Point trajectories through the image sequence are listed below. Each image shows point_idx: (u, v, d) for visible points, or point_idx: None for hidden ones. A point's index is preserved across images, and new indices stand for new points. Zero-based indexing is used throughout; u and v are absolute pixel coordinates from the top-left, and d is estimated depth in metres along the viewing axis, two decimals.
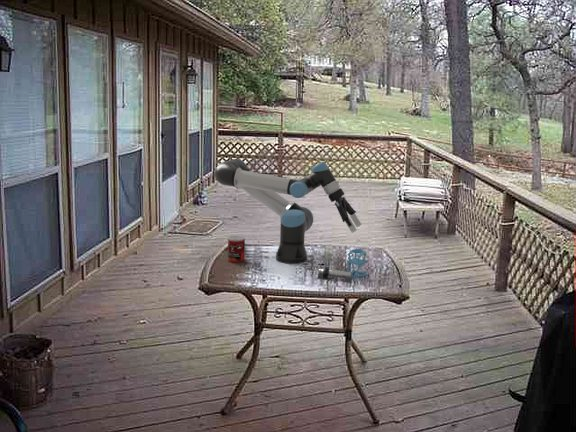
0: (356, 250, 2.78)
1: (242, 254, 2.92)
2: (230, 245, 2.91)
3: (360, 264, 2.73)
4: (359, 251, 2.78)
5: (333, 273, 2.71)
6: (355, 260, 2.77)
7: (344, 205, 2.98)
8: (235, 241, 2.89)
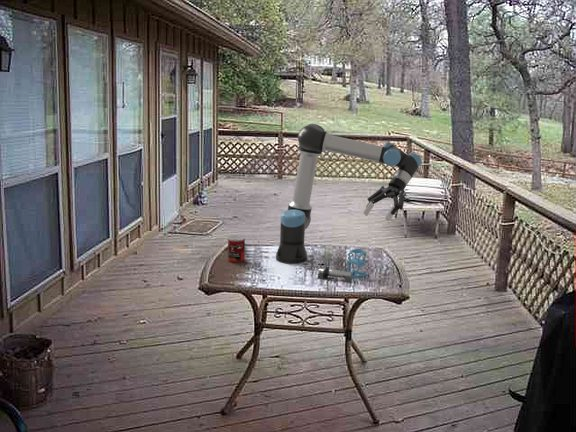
0: (356, 250, 2.78)
1: (242, 254, 2.92)
2: (230, 245, 2.91)
3: (360, 264, 2.73)
4: (359, 251, 2.78)
5: (333, 273, 2.71)
6: (355, 260, 2.77)
7: None
8: (235, 241, 2.89)
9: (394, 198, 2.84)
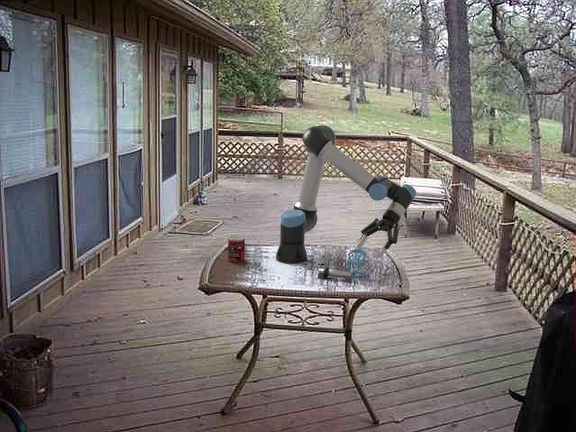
0: (356, 250, 2.78)
1: (242, 254, 2.92)
2: (230, 245, 2.91)
3: (360, 264, 2.73)
4: (359, 251, 2.78)
5: (333, 273, 2.71)
6: (355, 260, 2.77)
7: None
8: (235, 241, 2.89)
9: (388, 232, 2.78)
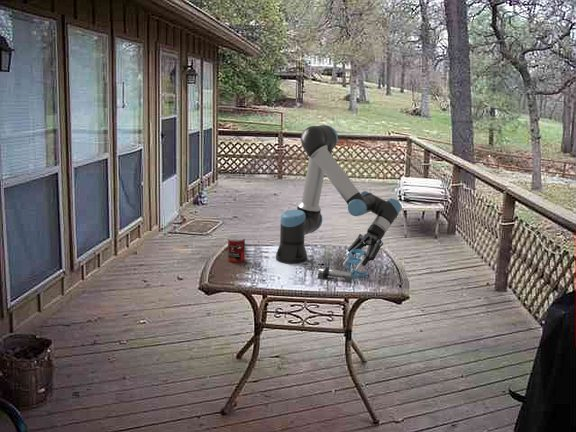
0: (356, 250, 2.78)
1: (242, 254, 2.92)
2: (230, 245, 2.91)
3: None
4: (359, 251, 2.78)
5: (333, 273, 2.71)
6: (355, 260, 2.77)
7: (374, 247, 2.78)
8: (235, 241, 2.89)
9: (369, 247, 2.75)
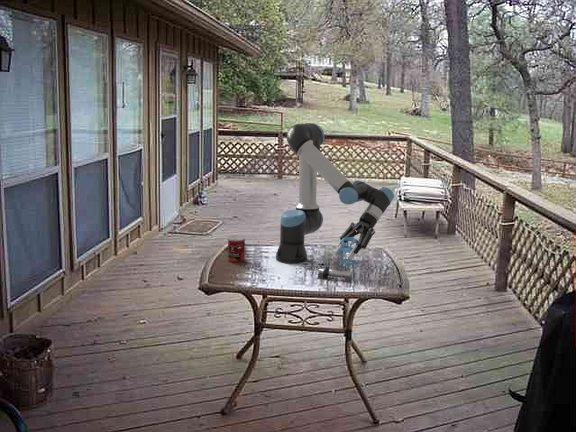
0: (348, 238, 2.78)
1: (242, 254, 2.92)
2: (230, 245, 2.91)
3: None
4: (351, 239, 2.77)
5: (333, 273, 2.71)
6: (347, 248, 2.77)
7: (366, 235, 2.78)
8: (235, 241, 2.89)
9: (361, 235, 2.75)
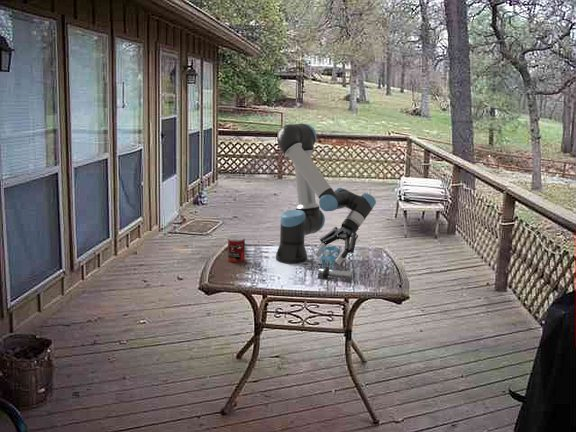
0: (330, 247, 2.81)
1: (242, 254, 2.92)
2: (230, 245, 2.91)
3: (333, 261, 2.76)
4: (333, 248, 2.81)
5: (333, 273, 2.71)
6: (329, 257, 2.80)
7: None
8: (235, 241, 2.89)
9: (345, 241, 2.77)
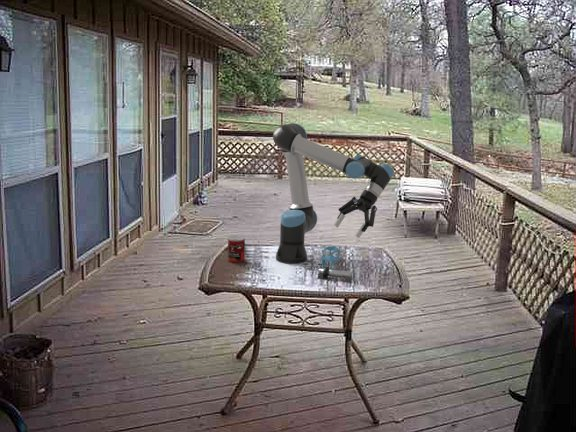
0: (330, 247, 2.81)
1: (242, 254, 2.92)
2: (230, 245, 2.91)
3: (333, 261, 2.76)
4: (333, 248, 2.81)
5: (333, 273, 2.71)
6: (329, 257, 2.80)
7: None
8: (235, 241, 2.89)
9: (365, 214, 2.83)
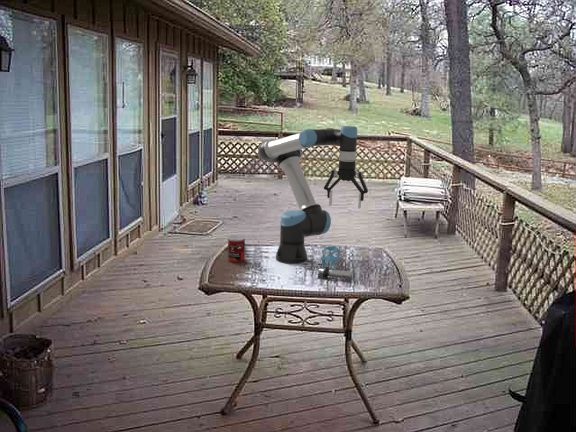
0: (330, 247, 2.81)
1: (242, 254, 2.92)
2: (230, 245, 2.91)
3: (333, 261, 2.76)
4: (333, 248, 2.81)
5: (333, 273, 2.71)
6: (329, 257, 2.80)
7: None
8: (235, 241, 2.89)
9: (355, 184, 2.81)
